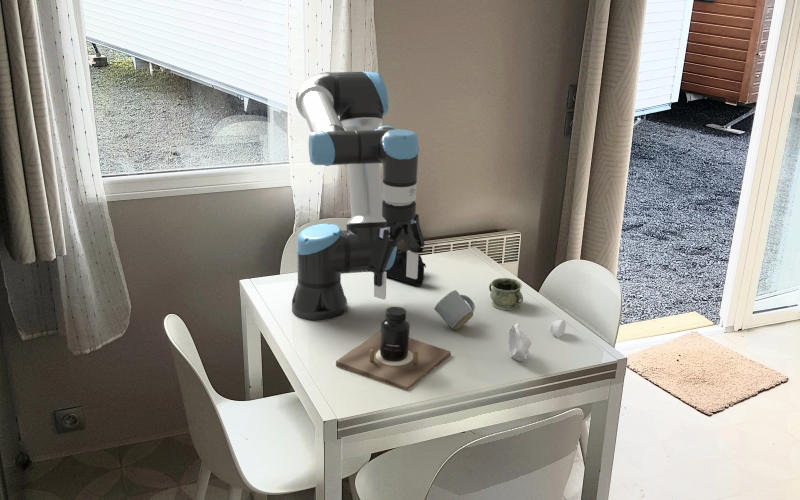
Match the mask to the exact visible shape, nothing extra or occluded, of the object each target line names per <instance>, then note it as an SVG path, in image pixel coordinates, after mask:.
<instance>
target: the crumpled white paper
mask: <svg viewBox="0 0 800 500" xmlns="http://www.w3.org/2000/svg"><path fill="white" fill-rule="evenodd" d="M508 334H509V335H508V354H509V356H511V355H513V356H511V358H512V359H514V360H516V361H518V360H519V362H521V361H523V362H525V361H527V359H528V357H527V354H528V353H530V348H531V346H532V341H531V339H530V337H529V336H528V334H527V333H526V332H525V331H523V330H520V323H518V322H517V323H515V324H514V325H513V326H512V327H511V329H510V330H509V333H508Z"/></svg>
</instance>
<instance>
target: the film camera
mask: <svg viewBox="0 0 800 500" xmlns="http://www.w3.org/2000/svg"><path fill="white" fill-rule="evenodd" d="M407 251H409V250H408V249H406V248H401V249H396V256H395V260H394V263H393V265H392V267H391V268H390V269H388V270H385V271H384V272H387V274H386V277H389V278H392V279H394V280H397V281H401V282H404V283H407V284H410V285H412V286H413V285H414V286H421V285H423V283H424V279H425V268H427V265H426V263H424V262H423V259H422V256H421V255H420V254H419V253H418V275H417V279H413V278H410V277H406V266H407Z"/></svg>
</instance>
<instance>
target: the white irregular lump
mask: <svg viewBox="0 0 800 500" xmlns="http://www.w3.org/2000/svg"><path fill="white" fill-rule="evenodd" d="M566 323H567V322H566V319H557V320H552V321H551V324H550V329H549V331H550V333H552V334H553V336H554V337H555V338H557V339H560V338H562V337H563V335H564V334H565V332H566Z"/></svg>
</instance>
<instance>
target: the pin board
mask: <svg viewBox="0 0 800 500" xmlns="http://www.w3.org/2000/svg"><path fill="white" fill-rule="evenodd" d="M380 340H381V330H379V331H377V333H375V334H373V335H371V336H370V337H369V338H368V339H366V340H364V341H363V342H361V343H360V344H358V345H357V346H356V347H354V348H353V349H351V350H349V352H347V353H346V354H344V355H343V356H342V357H340V358H339V359H337V360H335V366H336V367H339V368H341V369H345V370H347V371H349V372H353V373H355V374H359V375H362V376H364V377H367V378H370V379H373V380H376V381H378V382H382V383H385V384H388V385H390V386H392V387H395V388H398V389H401V390H405V391H409V390H410V389H411V388H412V387H414V386H415V385H417V383H419V382H420V381H422V380H423V379H424V378H425V377H426V376H427V375H428V374H430V373H431V372H433V370H435V369H436V368H438V366H439V365H441V364H442V363H444V362H445V361H446V360H447V359H448V358H449V357H451V355H452V351H451V350H448V349H445V348H443V347H442V348H441V347H439V346H436V345H432V344H429V343H427V342H424V341H420V340H418V339H414V338H411V337H409V348H408V356H407V358H406V359H404V360H402V361H398V362H392V361H387V360H385V359H383V358H382V357H381V355H380Z"/></svg>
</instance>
